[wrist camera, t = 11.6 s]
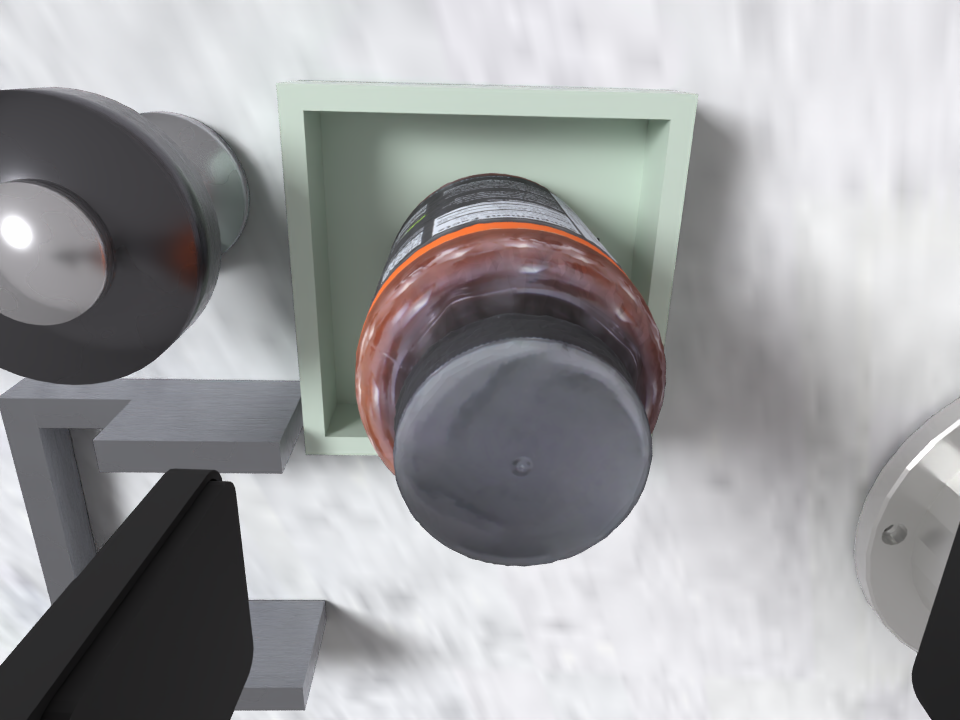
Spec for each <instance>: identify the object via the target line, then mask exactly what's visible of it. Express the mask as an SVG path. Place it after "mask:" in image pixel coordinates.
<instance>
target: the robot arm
mask: <svg viewBox="0 0 960 720" xmlns="http://www.w3.org/2000/svg"><path fill="white" fill-rule="evenodd" d="M854 558H855V565H856V573H857V579H858V581H859V583H860V586H861V588H862V591H863V593H864V595H865V598H866V600H867V601H868V603H869V604H870V605H871V607H872V608H873V610H874V611H875V612H876V614H877V615H878V617H879V618H880V619H881V621H882V622H883V624H884V625H885V626H886V627H887V628H888V629H889V630H890V631H891V632H892V633H893V634H894V635H895V636H896V637H897V638H898V639H899V640H900V641H901V642H902V643H903V644H905V645H907V646H908V647H910V648H911V649H913V650H914V651H916V652H917V656H916V659H915V663H914V666H913V670H912V683H913V688H914V691H915V694H916V696H917V698H918V700H919V702H920V703H921V705H922V706H923V708H924V709H925V711H926V712H927V714H928V715H929V717H930V718H931V720H960V398H958V399H957V400H955V401H954V402H952V403H951V404H950V405H948V406H947V407H945V408H944V409H942V410H941V411H939V412H938V413H936V414H935V415H933V416H932V417H931V418H930V419H929V420H927V421H926V422H925V423H924V424H923V425H922V426H921V427H920V428H919V429H918V430H917V431H915V432H914V433H913V434H912V435H911V436H910V437H909V438H908V439H907V440H906V441H904V443H903V444H902V445H901V446H900V448H899V449H898V450H897V451H896V453H895V454H894V455H893V456H892V458H891V459H890V460H889V461H888V463H887V464H886V465H885V466H884V467H883V469H882V470H881V472H880V474H879V476H878V477H877V479H876V481H875V483H874V485H873V486H872V488H871V490H870V492H869V494H868V495H867V497H866V500H865V503H864V506H863V509H862V512H861V515H860V518H859V521H858V524H857V528H856V538H855V547H854ZM253 651H254V646H253V635H252V627H251V618H250V610H249V601H248V592H247V584H246V575H245V567H244V558H243V549H242V541H241V532H240V524H239V515H238V507H237V498H236V491H235V487H234V485H233V483H232V482H228V481H222V478H221V476H220V473H219V472H218V471H216V470H206V469H177V468H174V469H169V470H168V471H167V472H166V473H165V474H164V475H163V476H162V477H161V479H160V480H159V481H158V482H157V483H156V485H155V486H154V487H153V488H152V489H151V490H150V492H149V493H148V494H147V495H146V496H145V497H144V499H143V500H142V501H141V502H140V503H139V505H138V506H137V507H136V508H135V509H134V510H133V512H132V513H131V514H130V515H129V516H128V518H127V519H126V520H125V521H124V522H123V523H122V525H121V526H120V527H119V528H118V529H117V531H116V532H115V533H114V534H113V535H112V536H111V538H110V539H109V540H108V541H107V542H106V544H105V545H104V546H103V547H102V548H101V549H100V551H99V552H98V553H97V554H96V555H95V556H94V558H93V559H92V560H91V561H90V562H89V564H88V565H87V566H86V567H85V568H84V569H83V571H82V572H81V573H80V574H79V575H78V576H77V577H76V578H75V579H74V580H73V581H72V582H71V583H70V584H69V586H68V587H67V588H66V589H65V590H64V591H63V593H62V594H61V595H60V596H59V597H58V598H57V600H56V601H55V602H54V603H53V604H52V606H51V607H50V608H49V609H48V610H47V611H46V613H45V614H44V615H43V616H42V617H41V618H40V620H39V621H38V622H37V623H36V624H35V626H34V627H33V628H32V629H31V630H30V631H29V633H28V634H27V635H26V636H25V637H24V638H23V640H22V641H21V642H20V643H19V644H18V645H17V647H16V648H15V649H14V650H13V651H12V653H11V654H10V655H9V656H8V657H7V658H6V660H5V661H4V662H3V663H2V664H1V665H0V720H230V719H231V717H232V714H233V712H234V709H235V707H236V705H237V702H238V700H239V697H240V695H241V693H242V690H243V688H244V686H245V683H246V681H247V678H248V676H249V673H250V670H251V666H252V660H253Z"/></svg>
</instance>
